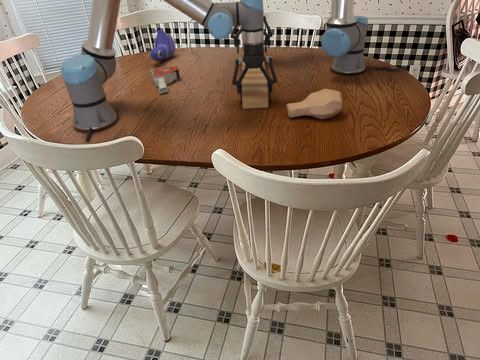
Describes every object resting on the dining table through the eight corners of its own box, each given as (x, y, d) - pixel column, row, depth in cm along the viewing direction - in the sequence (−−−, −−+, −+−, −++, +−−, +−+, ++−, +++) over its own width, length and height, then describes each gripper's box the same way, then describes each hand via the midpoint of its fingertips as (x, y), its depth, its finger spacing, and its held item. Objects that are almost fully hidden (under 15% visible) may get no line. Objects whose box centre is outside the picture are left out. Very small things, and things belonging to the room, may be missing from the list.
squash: (346, 119, 125) (347, 98, 118) (290, 129, 126) (288, 109, 120) (339, 102, 132) (339, 81, 126) (285, 111, 134) (283, 91, 128)
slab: (268, 107, 136) (268, 90, 132) (242, 108, 136) (241, 91, 132) (262, 59, 183) (262, 46, 179) (243, 60, 183) (242, 47, 179)
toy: (163, 61, 202) (144, 66, 180) (159, 29, 195) (138, 31, 173) (180, 60, 200) (162, 66, 177) (176, 28, 193) (156, 29, 171)
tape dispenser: (164, 98, 152) (192, 79, 164) (161, 86, 148) (191, 68, 161) (134, 89, 159) (163, 72, 172) (131, 78, 156) (161, 61, 168)
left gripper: (283, 37, 130) (282, 95, 143) (222, 41, 131) (227, 97, 144) (285, 43, 124) (284, 103, 137) (221, 46, 125) (226, 105, 138)
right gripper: (277, 2, 165) (276, 49, 177) (224, 4, 165) (226, 50, 178) (279, 5, 159) (277, 53, 171) (223, 7, 159) (226, 55, 172)
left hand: (255, 100), depth 141 cm, fingers closed on slab, 10 cm apart
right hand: (251, 52), depth 175 cm, fingers open, 13 cm apart
